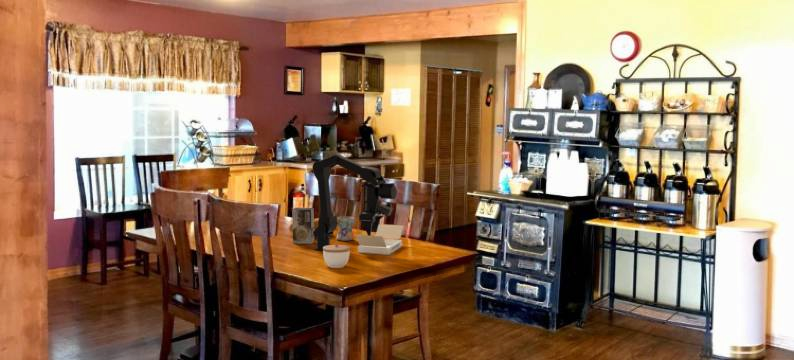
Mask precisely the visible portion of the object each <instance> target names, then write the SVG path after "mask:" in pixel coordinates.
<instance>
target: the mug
mask: <svg viewBox="0 0 794 360" xmlns="http://www.w3.org/2000/svg"><path fill="white" fill-rule="evenodd" d="M355 219H356V217H354V216H337V223H338V225H337V234H336V235H337V236H336V240H339V241H341V242H342V241H343V242H347V241H352V240H354V239H355V237H354V235H353V225H354V222H355Z"/></svg>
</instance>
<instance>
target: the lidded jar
mask: <svg viewBox="0 0 794 360" xmlns="http://www.w3.org/2000/svg"><path fill="white" fill-rule="evenodd" d="M350 250H351V247H350V246H349V245H345V244H339V243H338V242H335V243H334V244H330V245H327V246H324V247H323V250H322V254H323V256H322V257H323V259H324V260H323V261H324V263H325V264H326V265H328V267H329V268H332V269H340V268H341V269H342V268H344V267H345V265H346V264H347V263H348V262H349V259H350V254H351V251H350Z"/></svg>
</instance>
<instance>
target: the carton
mask: <svg viewBox="0 0 794 360" xmlns="http://www.w3.org/2000/svg"><path fill="white" fill-rule="evenodd" d="M384 241H385V244H386V246H387V247H372V246H360V244H359V245H358V246H357V253H359V254H367V255H368V254H369V255H383V256H384V255H386V256H390V255H391V254H392V253H394V252H396V251H398V250H400V249H401V248H402V246H403V241H402V239H386V238H384Z"/></svg>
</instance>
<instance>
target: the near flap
mask: <svg viewBox="0 0 794 360" xmlns="http://www.w3.org/2000/svg"><path fill="white" fill-rule="evenodd" d="M355 237H356V239H357V242H358V244H359V245H360V246H372V247H387V246H386V244H385V241H384V239H385V238H383V236H375V235H372V234H371V235H370V236H368V234H355Z"/></svg>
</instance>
